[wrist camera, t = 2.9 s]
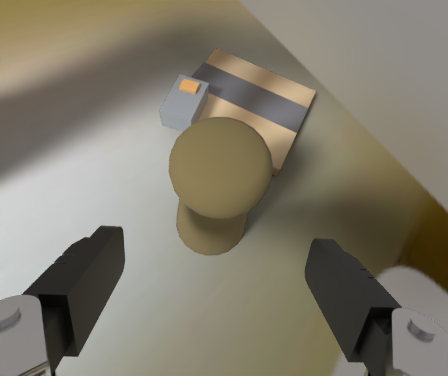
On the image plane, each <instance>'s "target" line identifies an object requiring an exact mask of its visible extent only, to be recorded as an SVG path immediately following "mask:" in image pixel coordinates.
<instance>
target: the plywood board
mask: <svg viewBox="0 0 448 376" xmlns="http://www.w3.org/2000/svg"><path fill="white" fill-rule="evenodd" d="M191 78H194V79H197V80H201V81H204V82H207V83H209V88H208V100H207V102H206V104H205V106H204V108H203V111H202V113H201V115H200V117H199V119H198V121H200V120H202V119H207V118H211V117H230V118H233V119H237V120H240V121H243V122H244V123H246V124H248V125H249V126H251V127H253V128H254V129H255V130H256V131H257V132H258V133H259V134H260V135H261V136H262V137H263V139H264V141H265V143H266V144H267V146H268V148H269V150H270V152H271V156H272V162H273V173H272V174H273V175H275V176H277V174H278V173H279V171H280V169H281V167H282V165H283V163H284V160H285V158H286V156H287V154H288V152H289V149H290V147H291V145H292V143H293V141H294V138H295V136H296V134H297V132H298V130H299V127H300V125H301V123H302V121H303V119H304V116H305V114H306V112H307V110H308V108H309V105H310V103H311V101H312V99H313V97H314V94H315V92H316V91H314V90H312V89H310V88H307V87H305V86H303V85H300V84H298V83H296V82H293V81H291V80H289V79H286V78H284V77H282V76H280V75H277V74H275V73H273V72H270V71H268V70H266V69H263V68H261V67H259V66H256V65H254V64H252V63H249V62H247V61H245V60H243V59H240V58H238V57H236V56H233V55H231V54H229V53H226V52H224V51H222V50H219V49H217V48H216V49H215V50H214V52H213V53H212V54H211V55H210V56H209V57H208V59H207V60H206V61H205V62H204V63H203V64H202V66H201V67H200V68H199V69H198V70H197V71H196V73H195V74H194V75H193V76H192V77H191Z"/></svg>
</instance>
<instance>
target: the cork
mask: <svg viewBox="0 0 448 376" xmlns="http://www.w3.org/2000/svg"><path fill="white" fill-rule="evenodd" d="M272 173H273V162H272V156H271V152H270V150H269V148H268V146H267V144H266V143H265V141H264V139H263V137H262V136H261V135H260V134H259V133H258V132H257V131H256V130H255V129H254V128H253V127H251V126H249V125H248V124H246V123H244V122H243V121H240V120H237V119H233V118H230V117H211V118H207V119H202V120H200V121H198V122H196V123H194V124H193V125H191V126H189V127H188V128H187V129H186V130H185V131H184V132H183V133H182V134H181V135H180V136H179V137H178V138H177V139H176V142H175V144H174V146H173V148H172V150H171V154H170V159H169V174H170V178H171V181H172V184H173V187H174V191H175V192H176V194H177V195H178V196H179V197H180V199H179V205H178V212H177V225H176V226H177V230H178V233H179V236H180V238H181V239H182V241H183V242H184V243H185V245H186V246H187V247H189V248H190V249H192V250H193V251H194V252H197V253H200V254H203V255H220V254H222V253H225V252H228V251H229V250H231V249H232V248H233V247H234V246H236V245H237V244H238V242H239V240H240V239H241V237H242V236H243V233H244V228H245V224H246V219H247V215H248V211H249V210H250V209H252V208H253V207H254V206H255V205H257V204H258V203H259V202H260V200H261V199H262V198H263V196H264V194H265V193H266V191H267V190H268V188H269V187H270V182H271V177H272Z"/></svg>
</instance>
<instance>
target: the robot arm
mask: <svg viewBox="0 0 448 376" xmlns="http://www.w3.org/2000/svg"><path fill="white" fill-rule="evenodd" d="M124 264H125V252H124V236H123V229H122V227H118V226H100V227H99V228H98V229H97V230H96V231H95V232H94V233H93V234H92V235H91V237H90V238H89V237H84V238H83V239H81V240H79V241H77V242H76V243H74V244H72V245H71V246H70V247H69V248H68V249H67V250H66V251H65V252H64V253H63V254H62V256H60V257H59V258H58V259H57V260H56V261H55V262H54V264H52V265H51V266H50V267H49V268H48V269H47V270H46V271H45V272H44V273H43V274H42V275H41V276H40V277H39V278H38V279H37V280H36V281H35V282H34V283H33V284H32V285H31V286H30V287H29V288H28V289H27V290H26V291H25V292H24V293H23V294H22V295H17V296H12V297H9V298H5V299H2V300H0V376H57V373H56V368H57V366H58V365H59V363H60V361H61V359H62V358H63V356H71V357H78V356H79V354H80V352H81V350H82V348H83V346H84V344H85V342H86V341H87V339H88V337H89V335H90V333H91V331H92V329H93V327H94V326H95V324H96V322H97V320H98V318H99V316H100V314H101V312H102V311H103V309H104V307H105V305H106V303H107V301H108V299H109V297H110V296H111V294H112V292H113V290H114V288H115V286H116V284H117V282H118V281H119V279H120V277H121V275H122V272H123V269H124ZM305 279H306V282H307V284H308V286H309V288H310V290H311V292H312V294H313V296H314V298H315V300H316V302H317V304H318V305H319V307H320V309H321V311H322V313H323V315H324V317H325V319H326V321H327V323H328V324H329V326H330V328H331V330H332V332H333V334H334V336H335V338H336V340H337V342H338V344H339V345H340V347H341V349H342V351H343V353H344V355H345V357H346V358H347V361H348V362H363V363H364V364H365V366H366V368H367V369H366V371H365V374H364V376H448V333H447V332H446V331H445V330H444V329H443V328H442V327H441V326H440V325H439V324H437V323H436V322H435V321H433V320H432V319H430V318H429V317H427V316H425V315H423V314H421V313H419V312H416V311H414V310H411V309H406V308H402V307H401V306H400V305H399V304H398V303H397V301H396V300H395V299H394V298H393V297H392V296H391V295H390V294H389V293H388V292H387V291H386V290H385V289H384V287H383V286H382V285H381V284H380V283H379V282H378V281H377V280H376V279H374V277H373V276H372V275H371V273H370V272H369V271H367V269H366V268H365V267H364V266H363V265H362V264H361V263H360V262H359V261H358V260H357V259H356V258H354V257H353V256H351V255H350V254H348V253H347V252H345V251H344V250H343V249H342V248H341V247H340V246H339V245H338V244H337V243H336V241H335V240H333V239H317V238H316V239H314V240H313V241H312V244H311V247H310V251H309V255H308V259H307V263H306V266H305Z"/></svg>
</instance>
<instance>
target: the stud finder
mask: <svg viewBox="0 0 448 376" xmlns="http://www.w3.org/2000/svg"><path fill="white" fill-rule="evenodd" d="M208 88H209V83H207V82H204V81H201V80H197V79H194V78H191V77H187V76H184V75H181V74H180V75H179V77H178V78H177V80H176V82H175V84H174V85H173V87H172V89H171V91H170V92H169V94H168V96H167V98H166V99H165V101H164V103H163V105H162V106H161V108H160V110H159V112H160V117H161V121H162V125H163V126H166V127H169V128H173V129H176V130H179V131H182V132H184V131H185V130H186V129H187V128H188V127H189V126H191V125H193V124H194V123H196V122H198V119H199V117H200V115H201V113H202V111H203V108H204V106H205V104H206V102H207V100H208Z"/></svg>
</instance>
